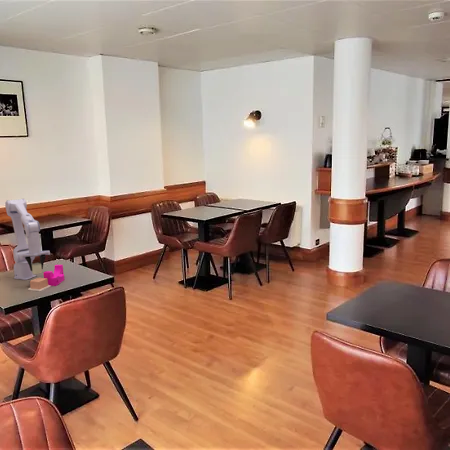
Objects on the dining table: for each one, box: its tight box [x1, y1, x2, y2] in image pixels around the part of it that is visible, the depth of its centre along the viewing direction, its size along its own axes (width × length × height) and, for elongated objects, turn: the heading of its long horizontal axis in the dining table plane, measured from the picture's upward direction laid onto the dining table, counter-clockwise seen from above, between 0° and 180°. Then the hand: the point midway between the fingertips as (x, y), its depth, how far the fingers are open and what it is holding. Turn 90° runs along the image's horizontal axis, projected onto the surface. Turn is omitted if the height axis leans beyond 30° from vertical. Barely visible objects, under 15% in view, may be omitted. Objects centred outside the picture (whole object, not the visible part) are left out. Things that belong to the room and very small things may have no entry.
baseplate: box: [27, 285, 52, 292], centre depth 237 cm, size 8×8×1 cm
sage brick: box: [32, 262, 43, 275], centre depth 240 cm, size 4×4×4 cm
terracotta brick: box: [29, 277, 48, 289], centre depth 237 cm, size 6×6×4 cm
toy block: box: [42, 264, 65, 287], centre depth 247 cm, size 15×6×8 cm, turn 175°
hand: (36, 269), depth 241 cm, fingers closed on sage brick, 4 cm apart
